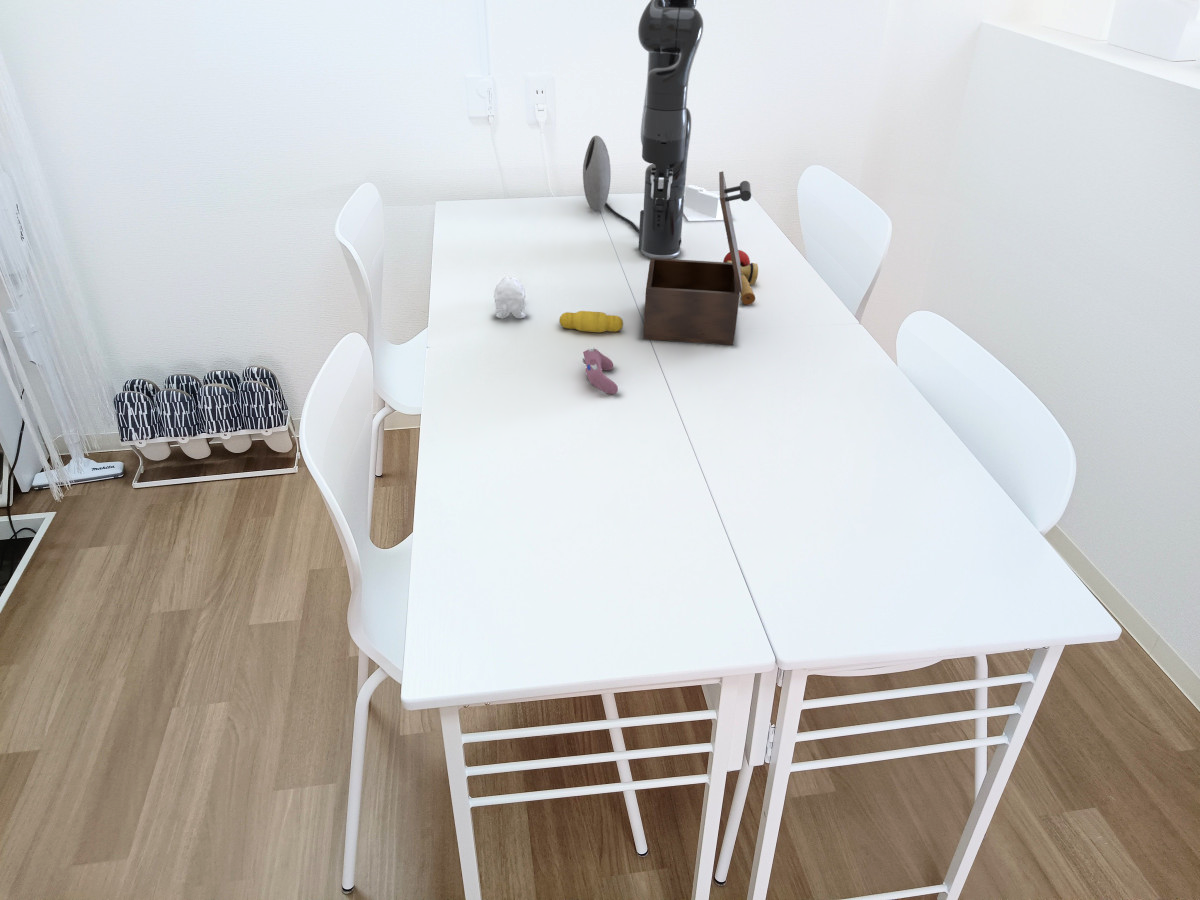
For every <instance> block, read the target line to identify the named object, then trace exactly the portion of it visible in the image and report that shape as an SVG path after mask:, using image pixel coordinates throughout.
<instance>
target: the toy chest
mask: <svg viewBox="0 0 1200 900" xmlns="http://www.w3.org/2000/svg"><path fill="white" fill-rule="evenodd" d="M740 298H741V294H740V292H739V293H738V290H737V285H736V280H735V275H734V270H733V265H732V263H727V262H723V261H711V260H696V259H695V260H693V259H676V258H672V259H663V258H649V265H648V270H647V279H646V285H645V298H644V313H643V314H644V315H643V316H644V317H643V334H642V339H643V340H649V341H663V342H664V341H665V342H666V341H667V342H681V343H682V342H683V343H694V344H708V345H709V344H710V345H724V346H734V343H735V335H736V327H737V320H738V311H739V305H740V304H739V303H740Z"/></svg>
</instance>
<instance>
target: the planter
mask: <svg viewBox="0 0 1200 900" xmlns="http://www.w3.org/2000/svg"><path fill="white" fill-rule="evenodd" d="M611 171H612V170H611V160H610V155H609V151H608V148H607V145H606V143H605V141H604V139H603V138H602V137H600V136H599V135H594V136H592V137H591V138H590V140H589V143H588V146H587V148H586V151H585V156H584V159H583V165H582V182H583V183H582V184H583V191H584V195H585V200H586V202H587V204H588V206H589V208H590V209H591V211H593V212H594V213H600V212H601V211H602V210H603V209H604V207H606V206H605V204H606V203H607V201H608V198H609V194H610V189H611V178H612V177H611V175H612V174H611Z"/></svg>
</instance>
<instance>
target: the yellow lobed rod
mask: <svg viewBox="0 0 1200 900" xmlns="http://www.w3.org/2000/svg"><path fill="white" fill-rule="evenodd" d="M559 324H560V326H561V327H562V328H564V329H568V330H569V329H570V330H576V331H579V332H589V333H603V332H614V333H615V332H619V331H621V330H622V328H623V326H624V321H623V319H622V318H621V317H620V316H619V315H615V314H614V315H612V314H607V313H605V312H603V311H590V310H578V311H577V312H571V311H569V312H568V311H566V312H563V313H562V314H561V315H560V316H559Z"/></svg>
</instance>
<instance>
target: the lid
mask: <svg viewBox="0 0 1200 900" xmlns="http://www.w3.org/2000/svg"><path fill="white" fill-rule="evenodd" d="M718 180H719V181H718V183H719V184H718V185H719V187H718V188H719V195H720V203H721V208H722V213H723V218H724V220H723V223H724V228H725V233H726V239H727V244H728V249H729V252H730V254H731V260H732V265H733V270H734V275H735V280H736V285H737V290H738V293H739V292H742V282H741V267H740V257H739V252H738V250H739V247H738V242H737V237H736V231H735V225H734V221H733V220H734V219H733V216H732V210H731V205H730V202H731V201H737V200H741V201H743V202H748V201H750V200H751V199H752V188H751V183H750V182H749V181H747V180H743V181H741V182H740V183H739V185H737V186H732V187H728V188H727V183H726V178H725V173H724V171H723V170H722V171H719V172H718ZM734 192H739V193H737V194H733V195H729V194H730V193H734Z"/></svg>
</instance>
